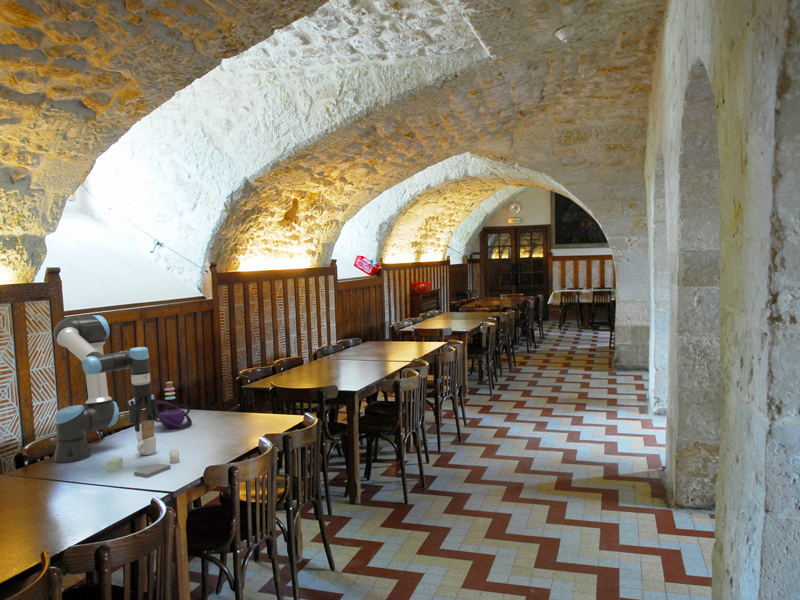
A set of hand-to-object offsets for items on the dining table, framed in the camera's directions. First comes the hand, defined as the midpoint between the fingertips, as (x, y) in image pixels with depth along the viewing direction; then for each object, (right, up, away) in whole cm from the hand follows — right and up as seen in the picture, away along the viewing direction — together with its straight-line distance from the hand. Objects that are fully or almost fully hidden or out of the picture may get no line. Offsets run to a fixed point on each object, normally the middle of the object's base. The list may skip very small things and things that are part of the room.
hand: (145, 436), depth 266 cm
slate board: (+6, -13, -6) cm, 16 cm away
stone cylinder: (+11, -12, +6) cm, 17 cm away
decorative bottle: (-13, -10, +66) cm, 68 cm away
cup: (-7, -13, +19) cm, 24 cm away
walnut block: (0, 0, 0) cm, 0 cm away
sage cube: (-12, -14, -1) cm, 19 cm away
